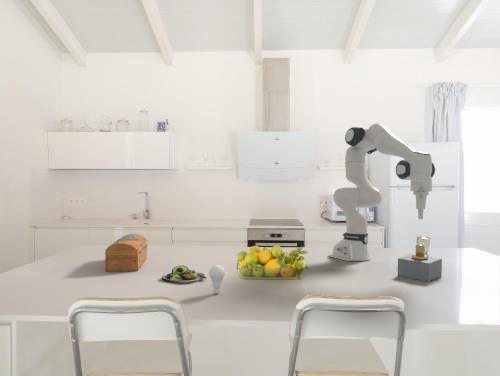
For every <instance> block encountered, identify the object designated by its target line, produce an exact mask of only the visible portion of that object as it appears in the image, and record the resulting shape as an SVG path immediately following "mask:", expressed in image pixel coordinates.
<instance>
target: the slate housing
mask: <svg viewBox="0 0 500 376" xmlns="http://www.w3.org/2000/svg"><path fill="white" fill-rule="evenodd" d="M412 255H414V253H413V254H412V253H411V254H407V255H404V256H401V257H398V258H397V277H402V278H406V279H407V278H408V279H412V280H416V279H418V280H417V281H422V280H424V281H423V282H427V281H430V282H432V281H434V280H436V278H437V279H439V278H441V277H442V276H443V275H442V272H443V267H442V265H443V258H439V257H431V256H429V257H428V259H427V260H417V259H413V258H412ZM438 277H439V278H438ZM433 279H434V280H433ZM431 280H432V281H431Z"/></svg>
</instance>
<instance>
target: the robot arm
mask: <svg viewBox="0 0 500 376" xmlns="http://www.w3.org/2000/svg"><path fill="white" fill-rule="evenodd" d="M344 140H345V141H344V142H345V143H346V145H349V147H348V148H347V149H346V151H345V159H344V165H345V166H344V167H345V168H344V169H345V178H346V180H347V181H348V182H350V183H352V184H353V185H354V186H355V187H341V188H337V189H335V191H334V193H333V194H332V197H333V198H332V199H333V203H334V204H335V206H336V207H338V208H339V209H340V210H341V211H342V212H343V214H344V217H345V222H346V231H345V232H344V233H342V235H341V236H342V237H343V238H342V239H341V240H340V241H338V242H336V244H334V246H333V249H332V252H331V253H330V252H329V254H328V257H330V258H335V259H338V260H343V261H347V262H353V261H354V262H366V261H369V260H371V258H370V257H371V256H370V254H369V253H370V252H369V246H368V243H369V233H368V218H367V217H366V216H364V214H361V213H359V212H357V209H359V208H365V209H369V208H374V207H379V205H381V202H382V198H383V197H382V193H381V191H380V190H379V189H378V188H377V187H376V186H374V185H373V184H372V183H371V181H370V180H369V178H368V173H367V166H366V154H368V155H371V154H373V153H374V152H375V153H376V152H379V153H381V154H383V155H386V156H393V157H394V156H395V157H398V158H402V159H401V160H399V162H397V164H396V166H395V175H396V176H397V178H398V179H400V180H403V181H410V192H413V195H414V196H415V208H416V210H417V214H418V217H417V218H418V220H423V219H424V210H426V203H427V196H429V195H430V192H432V191H433V189H432V188H433V179H432V178H433V177H434V175H435V173H436V167H435V164H434V162H433V160H432V155H431V153H429V152H428V151H427V152H426V151H416V149H414V148H413V147H411V146H410V145H409V144H407V143H405V142H404V141H402V140H401V139H400V138H399V137H397V136H396V135H395V134H394V133H393V132H392V131H391V130H390V129H389V128H388V127H386V126H384V124H381V123H373V124H372V125H370V126H369V127H368V128H367V129H366V128H363V127H358V126H355V127H354V126H353V127H350V128H348V130H347V131H346V132H345V135H344Z"/></svg>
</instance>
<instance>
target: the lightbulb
mask: <svg viewBox="0 0 500 376" xmlns="http://www.w3.org/2000/svg"><path fill="white" fill-rule="evenodd" d="M225 271H226V270H225V269H224V267H223V266H221V265H219V264H214V265H212V266H211V267H210V268H209V271H208V276H209V278H210V280H211V282H212V288H213V293H215V294H219V293H221V286H222V282H223V280H224V277H225V276H226V272H225Z"/></svg>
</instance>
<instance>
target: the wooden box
mask: <svg viewBox="0 0 500 376" xmlns="http://www.w3.org/2000/svg"><path fill="white" fill-rule="evenodd" d="M147 256H148V240H147V238H146V237H145V236H144V235H142V234H139V233H129V234H125V235H124V236H122V237H120V238H118V239H117V240H115V242H113V243H112V244H110V245H109V246H108V247H106V249H105V256H104V257H105V258H104V259H105V261H104V263H105V272H106V273H114V272H116V273H117V272H121V273H122V272H126V273H127V272H138V271H139V270H140V269H141V268H142V266H143V264H144V263H145V262H146V260H147V258H148V257H147Z"/></svg>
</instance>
